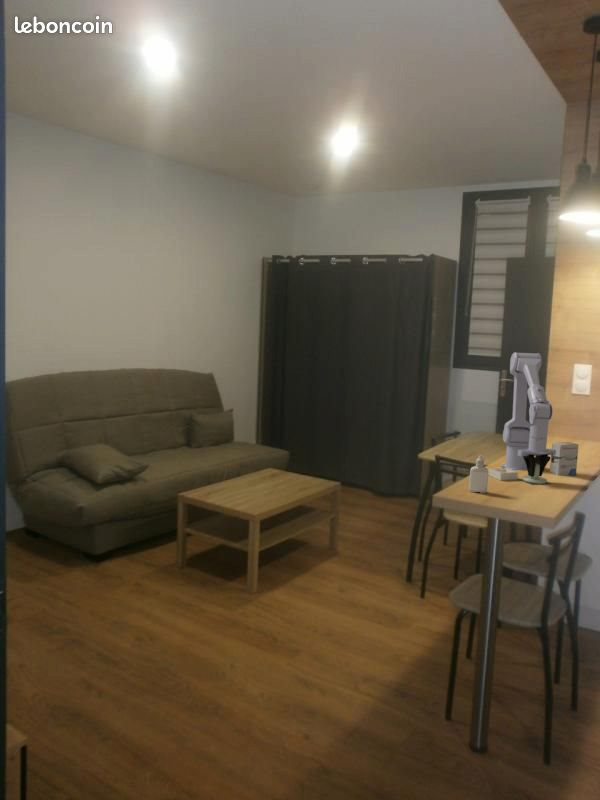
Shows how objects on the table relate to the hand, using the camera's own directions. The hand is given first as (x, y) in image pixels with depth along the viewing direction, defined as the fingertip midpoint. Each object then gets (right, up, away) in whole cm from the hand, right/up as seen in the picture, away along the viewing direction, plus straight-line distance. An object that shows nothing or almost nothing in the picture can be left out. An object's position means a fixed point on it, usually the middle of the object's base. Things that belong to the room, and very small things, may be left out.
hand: (534, 475), depth 230 cm
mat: (0, -2, 0) cm, 2 cm away
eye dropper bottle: (-24, -4, -15) cm, 28 cm away
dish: (-10, -2, +4) cm, 11 cm away
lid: (0, -2, 0) cm, 2 cm away
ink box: (+15, -1, +15) cm, 21 cm away
